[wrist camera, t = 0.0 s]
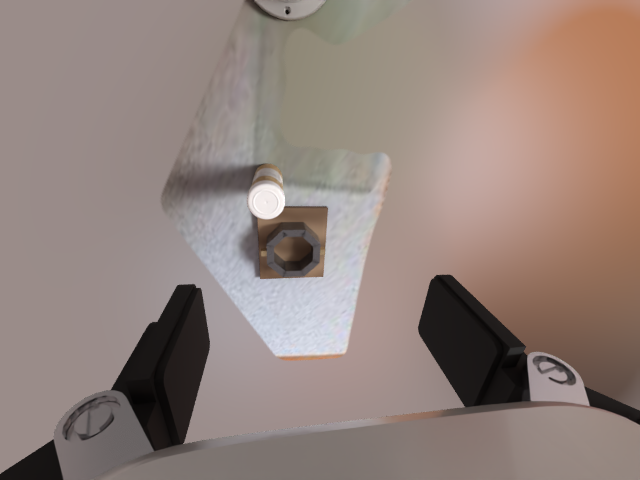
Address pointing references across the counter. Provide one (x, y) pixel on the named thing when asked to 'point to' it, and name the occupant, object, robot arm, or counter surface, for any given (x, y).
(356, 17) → the counter surface
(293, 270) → the socket
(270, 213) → the sprinkles bottle
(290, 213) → the walnut board
